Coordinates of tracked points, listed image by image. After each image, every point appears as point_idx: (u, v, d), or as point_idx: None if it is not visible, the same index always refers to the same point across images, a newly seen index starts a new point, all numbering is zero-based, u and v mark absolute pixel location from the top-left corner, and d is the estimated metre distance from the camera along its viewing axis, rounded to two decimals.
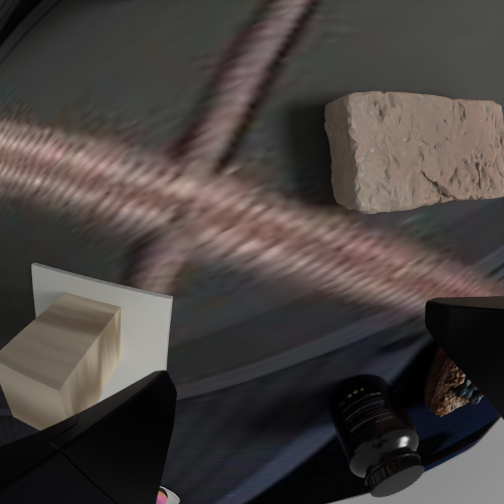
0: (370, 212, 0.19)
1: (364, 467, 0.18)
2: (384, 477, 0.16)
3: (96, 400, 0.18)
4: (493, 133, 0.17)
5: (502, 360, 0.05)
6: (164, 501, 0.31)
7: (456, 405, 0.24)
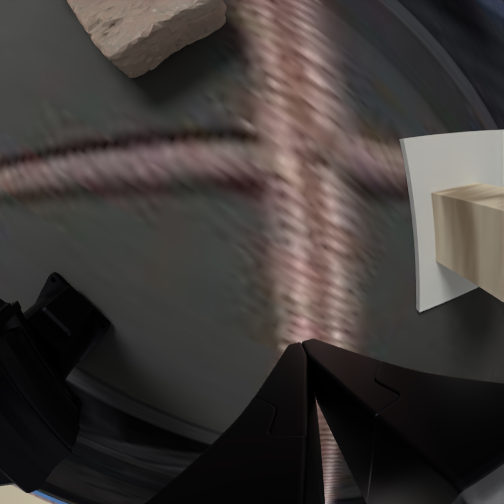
0: None
1: None
2: None
3: None
4: None
5: (347, 433, 0.05)
6: None
7: None
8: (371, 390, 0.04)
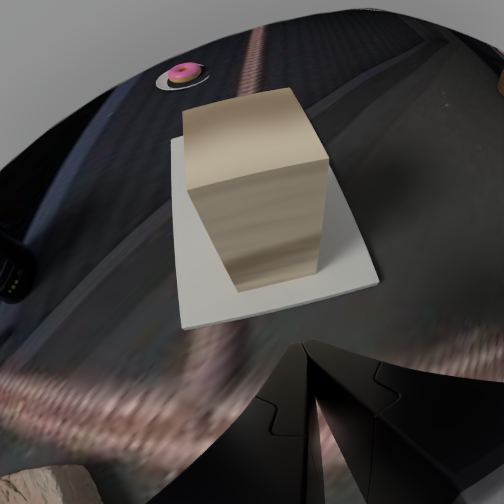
0: (44, 468, 0.13)
1: None
2: None
3: None
4: None
5: (347, 433, 0.05)
6: (169, 74, 0.36)
7: None
8: (371, 390, 0.04)
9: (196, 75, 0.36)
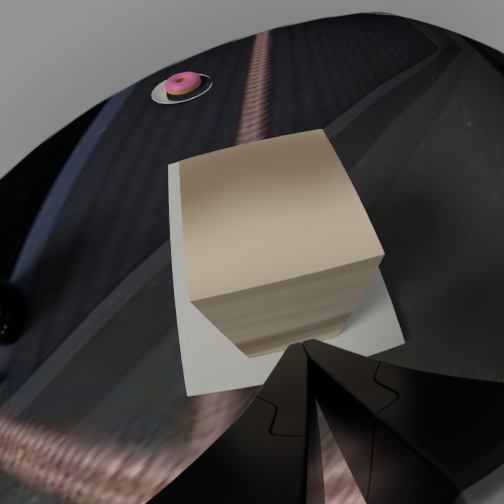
0: None
1: None
2: None
3: None
4: None
5: (347, 433, 0.05)
6: (165, 85, 0.34)
7: None
8: (371, 390, 0.04)
9: (196, 86, 0.34)
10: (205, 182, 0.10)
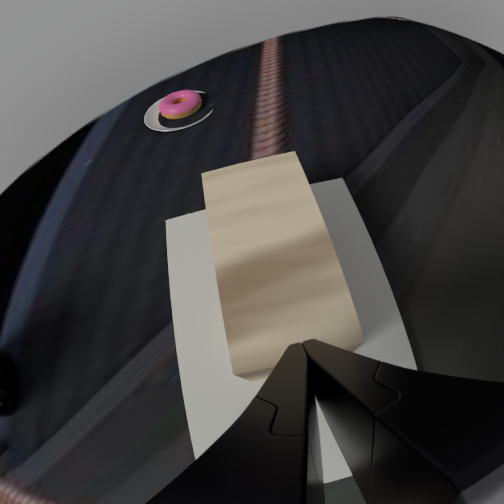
0: None
1: None
2: None
3: None
4: None
5: (347, 433, 0.05)
6: (160, 107, 0.29)
7: None
8: (371, 390, 0.04)
9: (196, 109, 0.30)
10: None
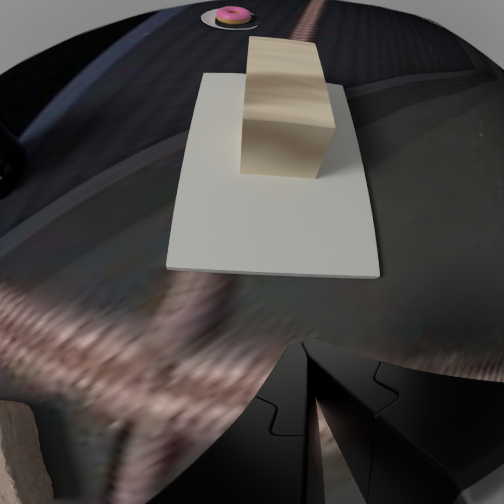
0: None
1: None
2: None
3: None
4: None
5: (347, 433, 0.05)
6: (217, 12, 0.31)
7: None
8: (371, 390, 0.04)
9: (244, 21, 0.31)
10: None
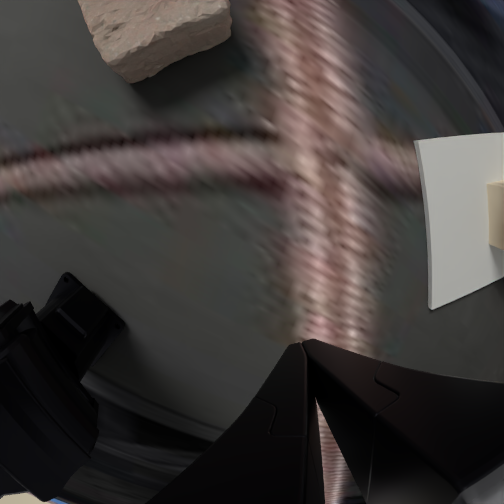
0: None
1: None
2: None
3: None
4: None
5: (347, 433, 0.05)
6: None
7: None
8: (371, 390, 0.04)
9: None
10: None
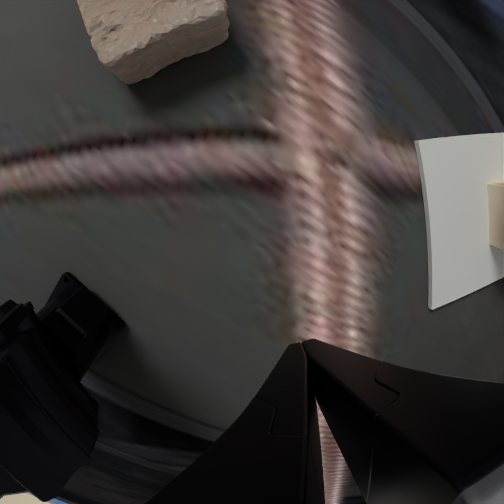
0: (223, 0, 0.12)
1: None
2: None
3: None
4: None
5: (347, 433, 0.05)
6: None
7: None
8: (371, 390, 0.04)
9: None
10: None
